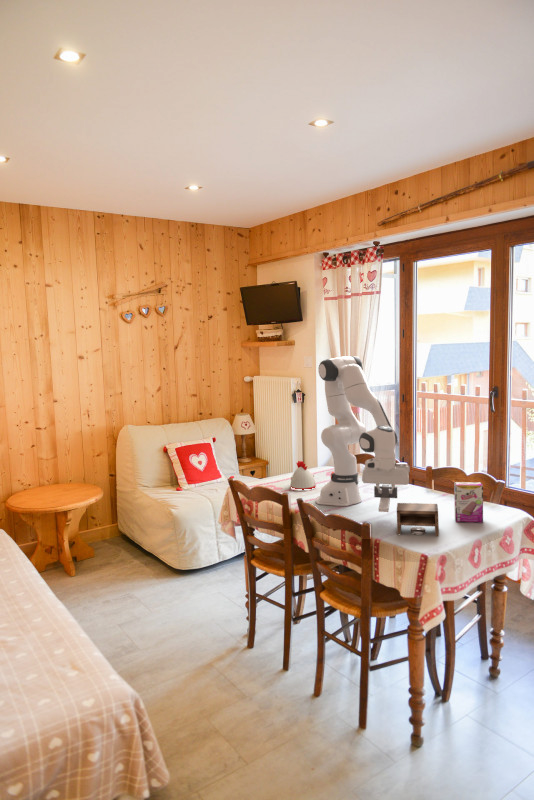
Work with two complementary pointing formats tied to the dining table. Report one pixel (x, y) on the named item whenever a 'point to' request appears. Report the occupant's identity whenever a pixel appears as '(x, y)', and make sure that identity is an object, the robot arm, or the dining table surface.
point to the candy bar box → (468, 501)
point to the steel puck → (417, 530)
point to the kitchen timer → (302, 478)
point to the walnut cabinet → (417, 515)
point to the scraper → (385, 496)
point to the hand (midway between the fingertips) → (385, 493)
